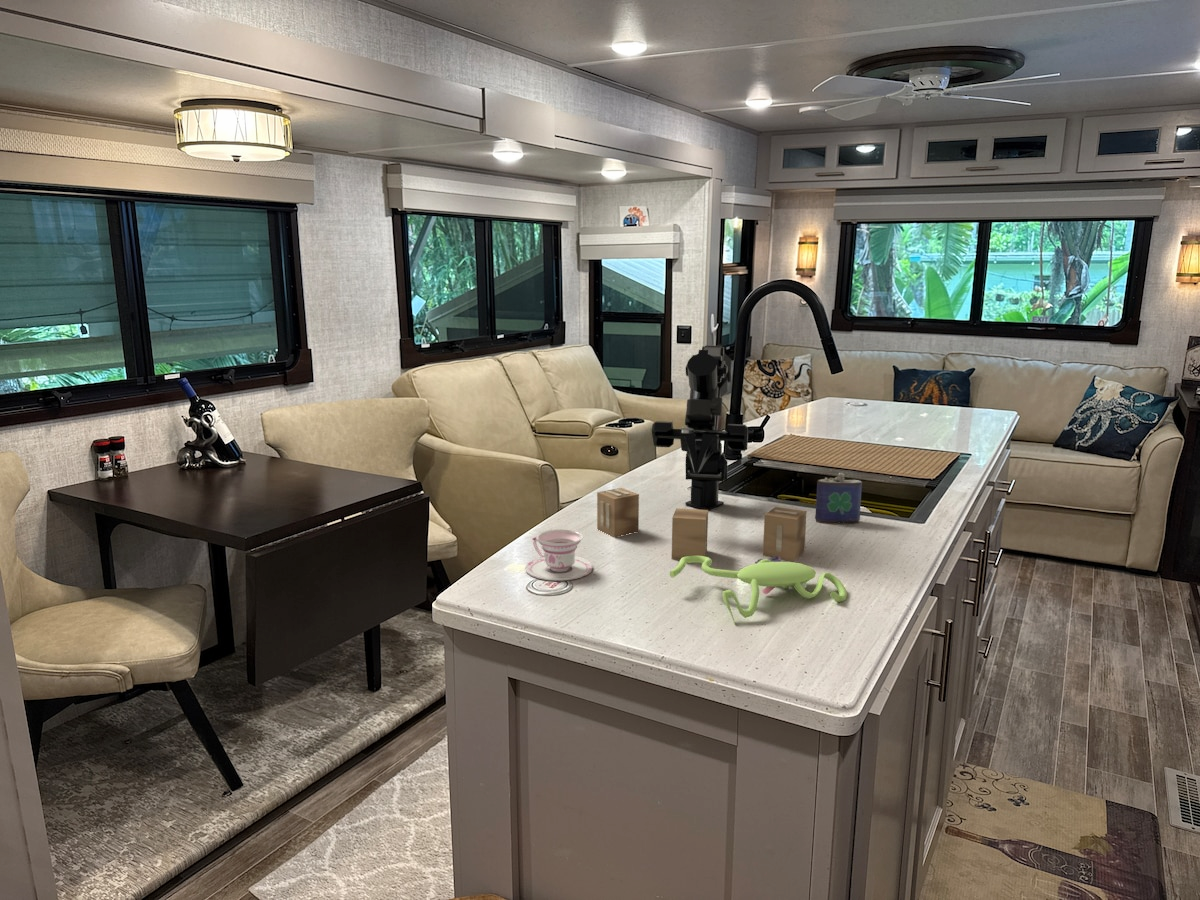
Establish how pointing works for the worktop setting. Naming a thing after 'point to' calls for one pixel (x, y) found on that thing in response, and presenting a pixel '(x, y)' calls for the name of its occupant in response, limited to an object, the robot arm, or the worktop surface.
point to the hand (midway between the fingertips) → (696, 472)
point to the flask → (838, 500)
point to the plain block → (689, 533)
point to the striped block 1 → (617, 512)
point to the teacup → (558, 556)
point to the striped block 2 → (784, 533)
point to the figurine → (766, 579)
